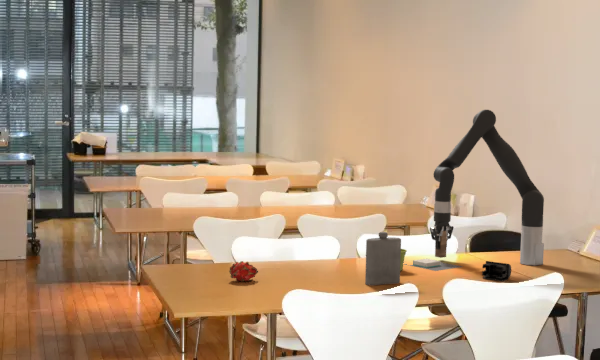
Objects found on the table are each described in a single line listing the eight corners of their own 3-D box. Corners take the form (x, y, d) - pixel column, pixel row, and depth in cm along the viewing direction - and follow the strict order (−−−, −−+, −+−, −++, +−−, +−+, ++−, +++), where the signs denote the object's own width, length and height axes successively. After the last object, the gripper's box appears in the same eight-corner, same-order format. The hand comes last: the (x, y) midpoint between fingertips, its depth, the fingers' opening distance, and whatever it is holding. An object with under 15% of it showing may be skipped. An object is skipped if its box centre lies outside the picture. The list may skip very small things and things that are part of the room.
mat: (463, 267, 364) (463, 266, 363) (435, 271, 352) (435, 270, 352) (426, 260, 381) (426, 259, 381) (398, 263, 370) (398, 262, 370)
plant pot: (388, 272, 349) (389, 252, 348) (380, 268, 358) (381, 248, 357) (409, 271, 351) (410, 251, 350) (401, 267, 360) (401, 248, 359)
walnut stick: (446, 257, 378) (447, 230, 377) (440, 257, 375) (441, 231, 374) (440, 255, 380) (441, 229, 379) (435, 256, 378) (436, 230, 377)
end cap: (511, 279, 340) (511, 263, 339) (504, 282, 334) (504, 265, 333) (488, 276, 346) (488, 260, 345) (481, 278, 340) (481, 262, 339)
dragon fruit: (225, 285, 324) (255, 288, 328) (232, 275, 317) (262, 279, 321) (225, 265, 328) (254, 268, 332) (232, 256, 322) (261, 259, 326)
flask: (394, 280, 332) (395, 230, 330) (402, 283, 327) (403, 232, 325) (361, 283, 326) (363, 232, 324) (369, 286, 320) (370, 234, 319)
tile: (440, 261, 364) (426, 263, 359) (440, 265, 365) (426, 267, 359) (427, 258, 371) (412, 260, 365) (426, 263, 371) (412, 265, 365)
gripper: (437, 212, 369) (436, 251, 370) (459, 211, 378) (457, 248, 379) (425, 211, 375) (424, 249, 376) (446, 209, 383) (445, 246, 385)
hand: (441, 248), depth 378 cm, fingers closed on walnut stick, 3 cm apart
